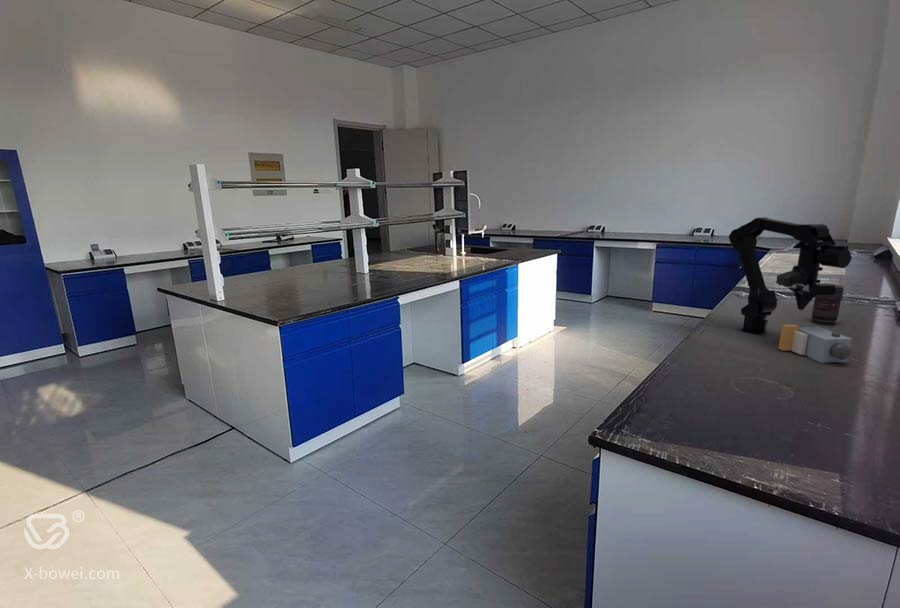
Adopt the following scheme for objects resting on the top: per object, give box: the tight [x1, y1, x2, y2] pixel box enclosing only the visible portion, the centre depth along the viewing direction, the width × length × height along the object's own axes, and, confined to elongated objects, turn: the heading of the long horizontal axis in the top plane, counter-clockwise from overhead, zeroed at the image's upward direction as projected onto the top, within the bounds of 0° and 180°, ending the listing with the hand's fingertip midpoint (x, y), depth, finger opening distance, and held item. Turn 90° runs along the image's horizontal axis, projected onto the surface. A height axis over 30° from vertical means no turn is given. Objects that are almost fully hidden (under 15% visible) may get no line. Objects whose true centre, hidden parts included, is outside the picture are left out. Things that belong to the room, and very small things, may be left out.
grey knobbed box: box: [798, 326, 853, 364], centre depth 141 cm, size 14×8×8 cm, turn 1°
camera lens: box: [811, 283, 845, 326], centre depth 174 cm, size 8×8×15 cm
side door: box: [778, 324, 808, 356], centre depth 145 cm, size 6×4×8 cm, turn 1°
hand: (800, 309), depth 151 cm, fingers closed
